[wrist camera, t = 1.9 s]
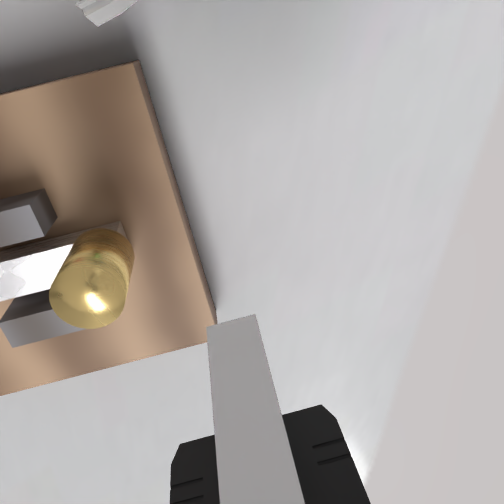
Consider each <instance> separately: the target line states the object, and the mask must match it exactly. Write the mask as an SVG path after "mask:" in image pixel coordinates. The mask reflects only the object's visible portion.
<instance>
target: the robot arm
mask: <svg viewBox="0 0 504 504" xmlns="http://www.w3.org/2000/svg"><path fill="white" fill-rule="evenodd" d="M206 330H207V343H208V356H209V369H210V381H211V394H212V407H213V420H214V433H215V435H212V436H208V437H204V438H201V439H197V440H193V441H189V442H186V443H182V444H180V445H179V448H178V450H177V452H176V454H175V457H174V459H173V461H172V464H171V482H170V486H171V490H170V504H370V501H369V498H368V496H367V493H366V491H365V489H364V486H363V484H362V481H361V479H360V476H359V474H358V471H357V469H356V466H355V464H354V461H353V459H352V457H351V454H350V451H349V449H348V446H347V444H346V441H345V440H344V437H343V434H342V432H341V429H340V427H339V424H338V422H337V419H336V418H335V417H334V416H333V415H332V414H331V413H330V412H329V411H328V410H327V409H326V408H325V407H324V406H322V405H318V406H314V407H310V408H307V409H303V410H299V411H295V412H292V413H288V414H284V415H282V414H281V410H280V407H279V403H278V399H277V395H276V391H275V387H274V384H273V380H272V376H271V372H270V368H269V365H268V361H267V357H266V353H265V349H264V345H263V342H262V338H261V334H260V330H259V326H258V323H257V319H256V315H255V314H253V315H250V316H246V317H242V318H238V319H234V320H231V321H227V322H223V323H219V324H215V325H212V326H208V327H206Z"/></svg>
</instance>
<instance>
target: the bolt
mask: <svg viewBox="0 0 504 504" xmlns="http://www.w3.org/2000/svg"><path fill="white" fill-rule="evenodd" d="M134 260H135V255H134V250H133V248H132V245H131V244H130V242H129V241H128V240H127V237H126V234H125V232H124V229H123V227H122V224H121V221H118V222H114V223H110V224H106V225H102V226H98V227H95V228H91V229H87V230H83V231H79V232H75V233H71V234H67V235H63V236H59V237H55V238H51V239H47V240H43V241H39V242H35V243H31V244H27V245H23V246H19V247H15V248H11V249H7V250H3V251H0V301H4V300H8V299H12V298H16V297H20V296H24V295H28V294H32V293H36V292H39V291H43V290H47V289H50V291H49V301H50V304H51V307H52V309H53V310H54V312H55V313H56V315H57V316H58V317H59V318H60V319H62V320H63V321H65V322H66V323H68V324H70V325H72V326H75V327H78V328H84V329H96V328H101V327H104V326H107V325H109V324H110V323H112V322H114V321H115V320H116V319H117V318H118V317H119V316H120V314H121V313H122V311H123V308H124V305H125V301H126V296H127V292H128V287H129V283H130V278H131V274H132V270H133V265H134Z"/></svg>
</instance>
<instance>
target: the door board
mask: <svg viewBox="0 0 504 504" xmlns="http://www.w3.org/2000/svg"><path fill="white" fill-rule="evenodd" d="M118 221H121V224H122V227H123V229H124V232H125V234H126V237H127V240H128V241H129V242H130V244H131V245H132V248H133V250H134V255H135V260H134V265H133V270H132V274H131V278H130V283H129V287H128V292H127V296H126V301H125V305H124V308H123V311H122V313H121V314H120V316H119V317H118V318H117V319H116V320H115V321H114V322H112V323H110V324H109V325H107V326H104V327H101V328H96V329H84V328H78V327H75V326H72V325H70V324H68V323H66V322H65V321H63V320H62V319H60V318H59V317H58V316H57V315H56V313H55V312H54V310H53V309H52V307H51V304H50V301H49V291H50V289H47V290H43V291H39V292H36V293H32V294H28V295H24V296H20V297H16V298H12V299H8V300H4V301H0V396H2V395H6V394H10V393H13V392H17V391H21V390H25V389H29V388H33V387H37V386H40V385H44V384H48V383H52V382H56V381H60V380H63V379H67V378H71V377H75V376H79V375H83V374H86V373H90V372H94V371H98V370H102V369H106V368H110V367H113V366H117V365H121V364H125V363H129V362H133V361H136V360H140V359H144V358H148V357H152V356H156V355H159V354H163V353H167V352H171V351H175V350H179V349H183V348H186V347H190V346H194V345H198V344H202V343H206V342H207V330H206V327H208V326H212V325H215V324H217V315H216V310H215V307H214V303H213V300H212V297H211V294H210V290H209V287H208V284H207V281H206V277H205V274H204V271H203V267H202V264H201V261H200V258H199V254H198V251H197V248H196V245H195V241H194V238H193V235H192V232H191V228H190V225H189V222H188V219H187V215H186V212H185V209H184V205H183V202H182V199H181V196H180V192H179V189H178V186H177V183H176V179H175V176H174V173H173V170H172V166H171V163H170V160H169V156H168V153H167V150H166V147H165V143H164V140H163V137H162V134H161V130H160V127H159V124H158V121H157V117H156V114H155V111H154V107H153V104H152V101H151V98H150V94H149V91H148V88H147V85H146V81H145V78H144V75H143V72H142V68H141V65H140V62H139V60H136V61H132V62H128V63H124V64H120V65H116V66H112V67H108V68H103V69H99V70H95V71H91V72H87V73H83V74H79V75H75V76H71V77H67V78H62V79H58V80H54V81H50V82H46V83H42V84H38V85H34V86H30V87H26V88H22V89H17V90H13V91H9V92H5V93H1V94H0V251H3V250H7V249H11V248H15V247H19V246H23V245H27V244H31V243H35V242H39V241H43V240H47V239H51V238H55V237H59V236H63V235H67V234H71V233H75V232H79V231H83V230H87V229H91V228H95V227H98V226H102V225H106V224H110V223H114V222H118Z"/></svg>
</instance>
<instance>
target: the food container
mask: <svg viewBox="0 0 504 504" xmlns="http://www.w3.org/2000/svg"><path fill="white" fill-rule="evenodd" d="M137 1H138V0H81V1H79V2H77V3H75V4H76V6H77V7H79V8H81V9H82V10H83V13H84V15H85V17H86V18H88V19H89V20H90V21H91V22H92V23H94V24H95V25H96V26H97V27H99V26H100V25H102V24H104V23H106V22H108V21H109V20H111V19H113V18H115V17H117V16H119V15H120V14H122V13H123V12H124V11H126V10H127V9H128V8H129V7H131V6H132V5H133V4H134V3H136V2H137Z"/></svg>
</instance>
